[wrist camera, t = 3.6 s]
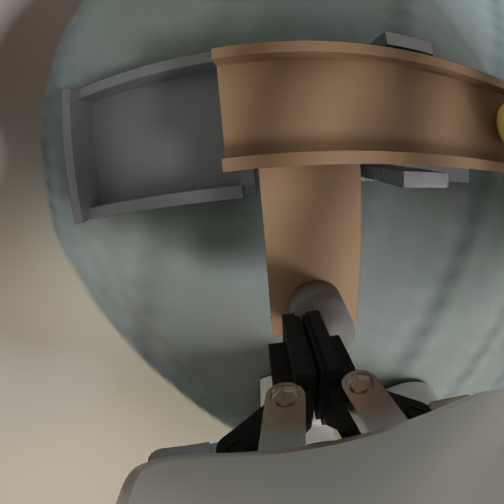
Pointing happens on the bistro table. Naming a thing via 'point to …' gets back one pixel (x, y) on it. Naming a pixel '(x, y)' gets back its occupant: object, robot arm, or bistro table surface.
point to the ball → (501, 122)
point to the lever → (341, 150)
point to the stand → (411, 173)
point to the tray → (148, 140)
